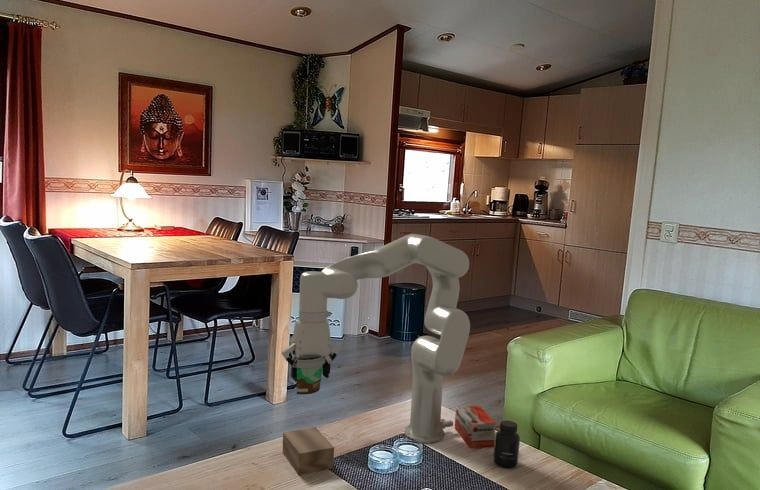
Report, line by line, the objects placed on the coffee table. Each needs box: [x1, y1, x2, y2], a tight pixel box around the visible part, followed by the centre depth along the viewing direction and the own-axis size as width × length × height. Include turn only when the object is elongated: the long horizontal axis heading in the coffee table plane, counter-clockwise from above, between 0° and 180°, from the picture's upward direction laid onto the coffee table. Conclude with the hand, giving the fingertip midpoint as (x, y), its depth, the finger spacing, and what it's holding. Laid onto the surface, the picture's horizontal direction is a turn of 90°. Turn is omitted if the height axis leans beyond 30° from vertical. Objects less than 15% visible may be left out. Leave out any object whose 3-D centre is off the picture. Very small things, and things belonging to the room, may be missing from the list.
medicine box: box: [454, 405, 497, 450], centre depth 180 cm, size 15×8×8 cm, turn 11°
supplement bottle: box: [493, 420, 521, 470], centre depth 164 cm, size 7×7×12 cm
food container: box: [296, 356, 325, 395], centre depth 158 cm, size 12×6×10 cm, turn 170°
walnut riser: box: [282, 426, 335, 476], centre depth 160 cm, size 10×14×6 cm
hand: (310, 378), depth 158 cm, fingers closed on food container, 8 cm apart
